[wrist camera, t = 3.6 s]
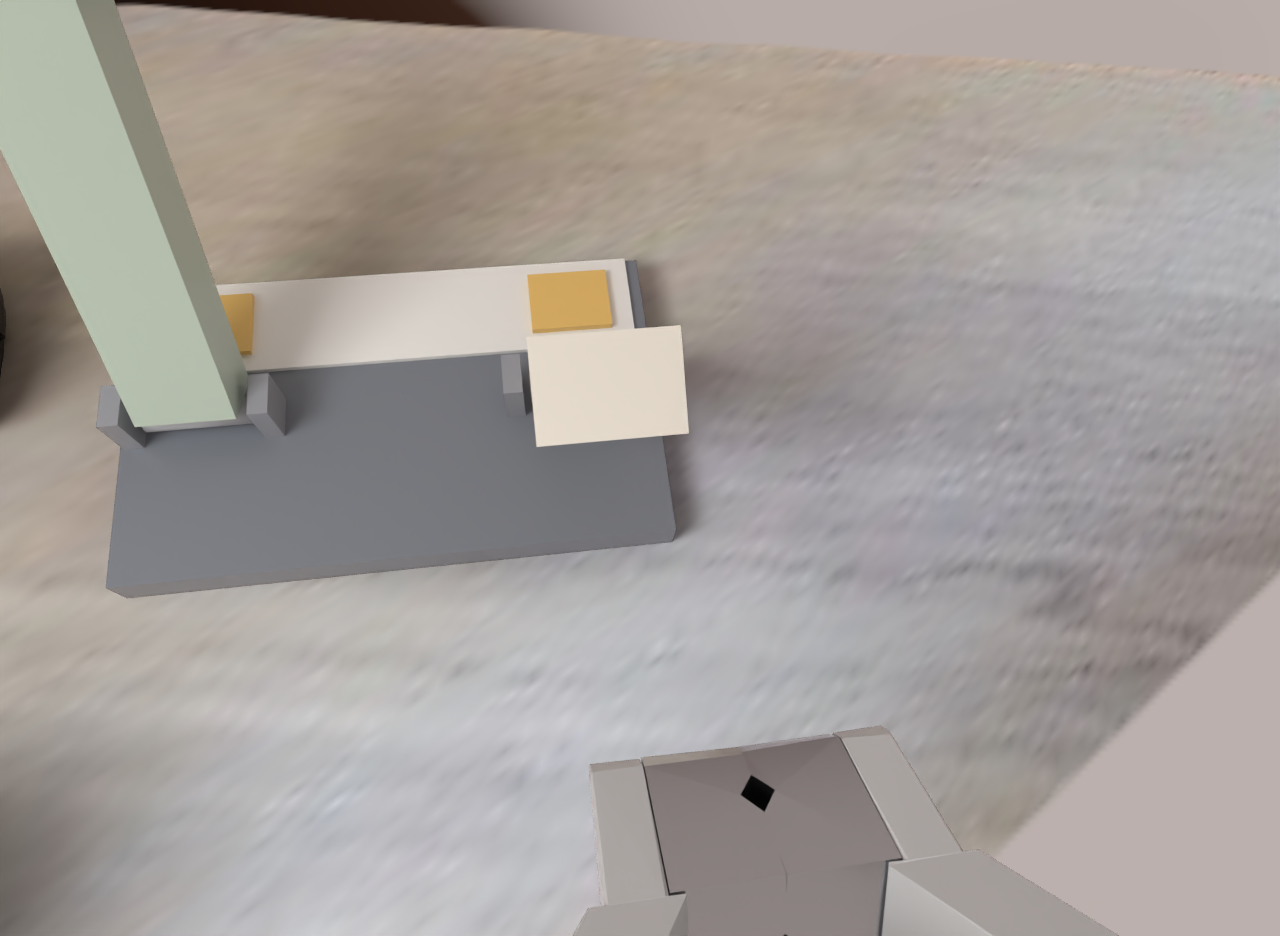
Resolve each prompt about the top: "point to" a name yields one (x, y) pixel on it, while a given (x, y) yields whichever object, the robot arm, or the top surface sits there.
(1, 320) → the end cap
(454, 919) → the top surface
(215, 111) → the top surface
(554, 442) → the bar
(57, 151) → the bar
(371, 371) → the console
